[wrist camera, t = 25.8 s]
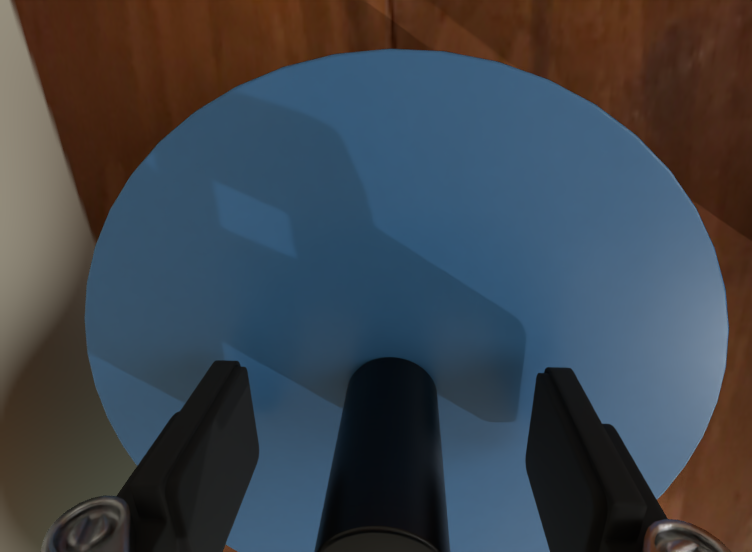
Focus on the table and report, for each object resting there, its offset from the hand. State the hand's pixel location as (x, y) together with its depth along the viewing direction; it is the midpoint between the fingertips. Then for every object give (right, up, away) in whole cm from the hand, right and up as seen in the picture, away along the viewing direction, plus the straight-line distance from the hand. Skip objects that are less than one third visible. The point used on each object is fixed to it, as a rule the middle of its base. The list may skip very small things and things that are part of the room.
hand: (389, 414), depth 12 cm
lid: (0, +1, +1) cm, 1 cm away
